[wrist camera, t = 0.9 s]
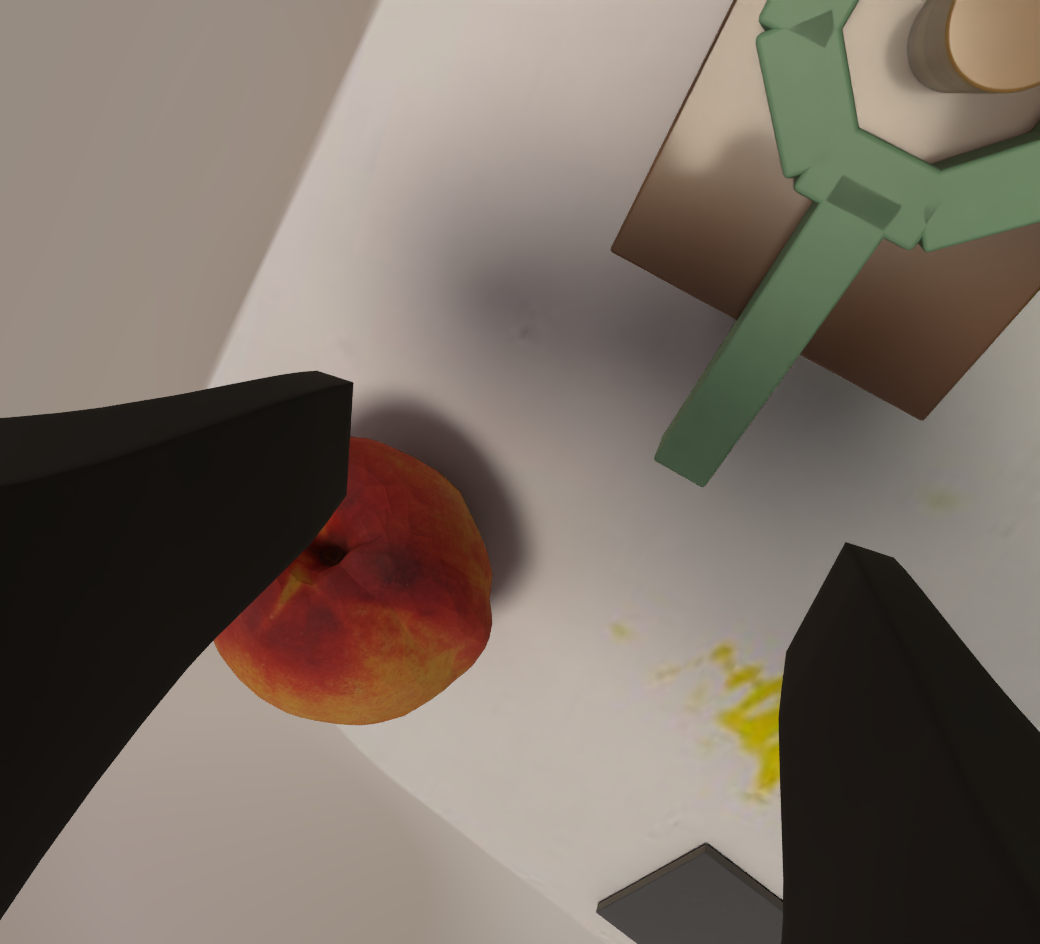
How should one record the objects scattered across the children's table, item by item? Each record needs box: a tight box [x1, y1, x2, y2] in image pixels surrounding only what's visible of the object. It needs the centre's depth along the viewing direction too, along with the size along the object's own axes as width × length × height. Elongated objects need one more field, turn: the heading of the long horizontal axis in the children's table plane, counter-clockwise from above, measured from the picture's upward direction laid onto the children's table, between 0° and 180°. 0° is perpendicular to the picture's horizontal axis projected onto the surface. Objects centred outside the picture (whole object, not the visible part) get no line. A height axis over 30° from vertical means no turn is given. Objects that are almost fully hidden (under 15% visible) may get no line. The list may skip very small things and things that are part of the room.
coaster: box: [596, 844, 783, 944], centre depth 28 cm, size 7×7×1 cm
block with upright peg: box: [611, 0, 1040, 421], centre depth 11 cm, size 10×7×7 cm
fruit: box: [214, 437, 492, 725], centre depth 20 cm, size 8×8×8 cm
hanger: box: [654, 0, 1040, 487], centre depth 12 cm, size 11×6×1 cm, turn 156°
